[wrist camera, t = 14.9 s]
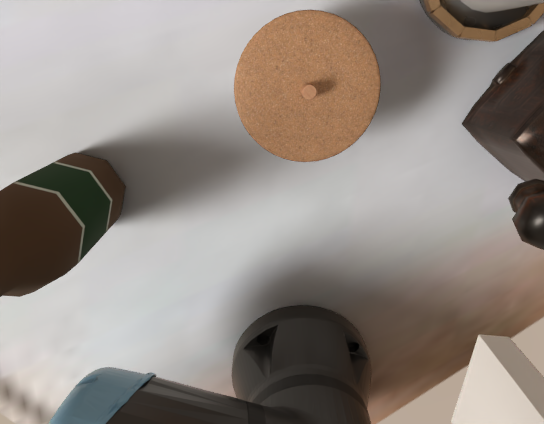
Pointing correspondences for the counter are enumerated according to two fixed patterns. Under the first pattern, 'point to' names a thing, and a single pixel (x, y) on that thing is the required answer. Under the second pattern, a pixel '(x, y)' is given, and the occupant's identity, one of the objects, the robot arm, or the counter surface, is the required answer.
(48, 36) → the counter surface
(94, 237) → the beer bottle
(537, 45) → the dark brown coffee grinder
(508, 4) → the can
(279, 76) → the lidded jar
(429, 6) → the coaster
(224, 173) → the counter surface
